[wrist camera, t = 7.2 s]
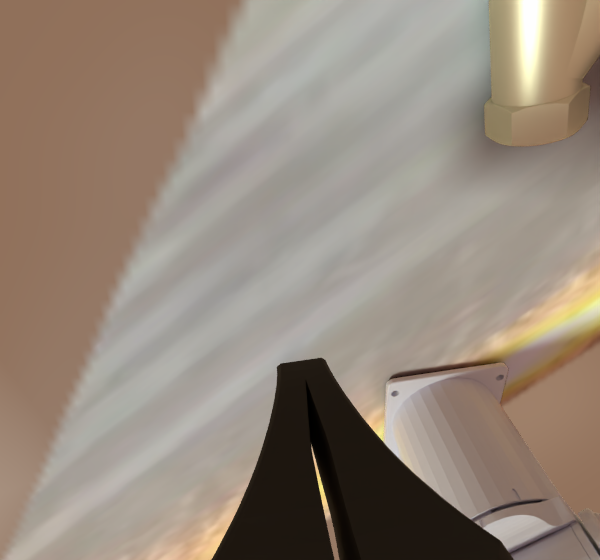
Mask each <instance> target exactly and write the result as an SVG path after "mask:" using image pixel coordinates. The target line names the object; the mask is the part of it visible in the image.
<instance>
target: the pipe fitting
mask: <svg viewBox="0 0 600 560" xmlns="http://www.w3.org/2000/svg"><path fill="white" fill-rule="evenodd" d="M489 26H490V60H491V94H492V97H491V98H490V99H489V100H488V101H487V102H486V103H485V105H484V117H485V135H486V136H487V137H489V138H490V139H491V140H493V141H495V142H497V143H499V144H502V145H507V146H536V145H543V144H548V143H552V142H556V141H559V140H562V139H565V138H568V137H570V136H572V135H573V134H575V133H576V132H577V131H578V130H579V129H580V128H581V127H582V126H583V125H584V123H585V122H586V121H587V119H588V110H589V99H590V87H591V86H589V85H587V84H585V83H583V78H584V76H585V75H586V74H587V72H588V71H589V70H590V68H591V67H592V66H593V64H594V63H595V62H596V60H597V59H598V57H599V56H600V0H489Z"/></svg>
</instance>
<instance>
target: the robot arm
mask: <svg viewBox="0 0 600 560" xmlns="http://www.w3.org/2000/svg"><path fill="white" fill-rule="evenodd" d="M507 374H508V367H507V366H506V364H505V363H494V364H487V365H480V366H474V367H467V368H460V369H454V370H447V371H440V372H433V373H427V374H420V375H413V376H407V377H400V378H393V379H391V380H389V381H388V382H387V384H386V399H385V419H384V440H383V441H382V440H381V439H380V438H379V437H378V436H377V434H376V433H375V432H374V431H373V430H372V429H371V427H370V426H369V425H368V424H367V423H366V421H365V420H364V419H363V418H362V416H361V415H360V414H359V412H358V411H357V410H356V408H355V407H354V406H353V404H352V403H351V402H350V400H349V399H348V397H347V396H346V395H345V393H344V392H343V390H342V389H341V387H340V386H339V384H338V382H337V381H336V379H335V378H334V376H333V374H332V372H331V371H330V369H329V367H328V365H327V363H326V360H324V359H323V358H317V359H310V360H303V361H296V362H289V363H282V364H280V365H279V366H278V367H277V386H276V393H275V400H274V405H273V409H272V414H271V418H270V423H269V426H268V430H267V433H266V437H265V440H264V443H263V447H262V450H261V453H260V456H259V459H258V462H257V464H256V467H255V470H254V472H253V475H252V478H251V480H250V483H249V485H248V487H247V490H246V492H245V494H244V497H243V499H242V501H241V504H240V506H239V508H238V510H237V512H236V514H235V516H234V518H233V520H232V522H231V524H230V526H229V528H228V530H227V532H226V534H225V536H224V538H223V540H222V541H221V543H220V545H219V547H218V549H217V551H216V553H215V554H214V556H213V558H212V560H334V556H333V552H332V548H331V543H330V538H329V533H328V529H327V524H326V519H325V515H324V510H323V505H322V500H321V495H320V491H319V486H318V481H317V476H316V471H315V466H314V461H313V456H312V449H311V444H312V448H313V451H314V455H315V459H316V463H317V466H318V470H319V474H320V477H321V481H322V485H323V488H324V492H325V496H326V499H327V503H328V507H329V510H330V514H331V518H332V523H333V527H334V532H335V537H336V542H337V548H338V553H339V559H340V560H600V514H599V513H593V511H591V510H590V509H584V510H583V511H581V512H579V513H578V515H579V517H580V518H581V520H582V521H581V520H580V519H579V518H578V517H577V515H576V514H575V513H574V512H573V511H572V509H571V508H570V507H569V505H568V504H567V503H566V502H565V501H564V499H563V498H562V497H561V495H560V493H559V492H558V490H557V489H556V488H555V486H554V485H553V483H552V482H551V480H550V479H549V477H548V476H547V474H546V473H545V471H544V470H543V468H542V467H541V465H540V464H539V462H538V461H537V459H536V458H535V456H534V455H533V453H532V452H531V450H530V449H529V447H528V446H527V445H526V443H525V441H524V440H523V438H522V437H521V435H520V434H519V432H518V431H517V429H516V428H515V426H514V425H513V423H512V422H511V420H510V419H509V417H508V416H507V414H506V413H505V411H504V410H503V408H502V407H501V405H500V402H501V398H502V394H503V390H504V386H505V382H506V378H507ZM393 391H394V392H393ZM582 522H583V523H582Z"/></svg>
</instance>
